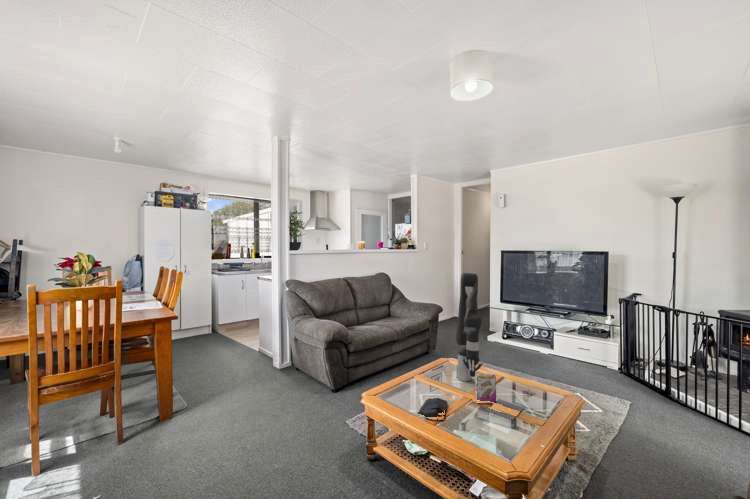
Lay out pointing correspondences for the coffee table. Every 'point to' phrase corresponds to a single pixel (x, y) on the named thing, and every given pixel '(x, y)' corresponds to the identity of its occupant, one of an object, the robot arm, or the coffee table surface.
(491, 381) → the candy bar box
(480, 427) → the coffee table surface
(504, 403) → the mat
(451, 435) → the coffee table surface
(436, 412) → the dark slate chunk
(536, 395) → the coffee table surface
